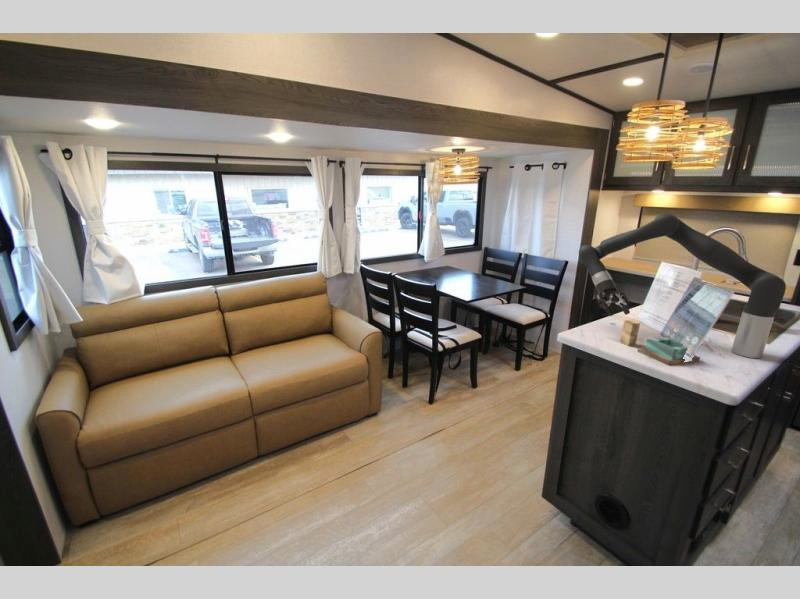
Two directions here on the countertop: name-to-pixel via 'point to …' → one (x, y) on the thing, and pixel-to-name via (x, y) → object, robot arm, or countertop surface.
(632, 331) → the peg
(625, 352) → the countertop surface
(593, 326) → the countertop surface
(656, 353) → the socket block
